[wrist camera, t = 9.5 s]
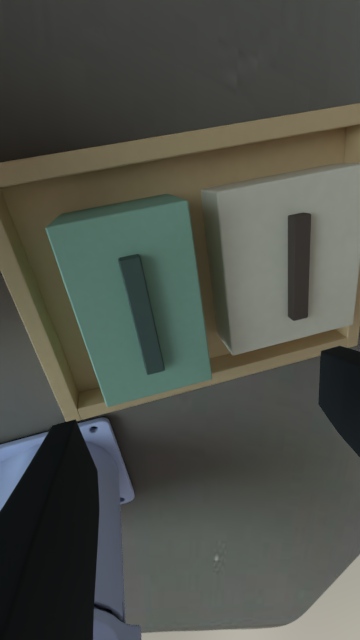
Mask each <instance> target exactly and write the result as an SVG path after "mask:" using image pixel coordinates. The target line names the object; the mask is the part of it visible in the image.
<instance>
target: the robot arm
mask: <svg viewBox="0 0 360 640" xmlns="http://www.w3.org/2000/svg"><path fill="white" fill-rule="evenodd" d="M319 405H320V407H321V408H322V410H323V411H324V413H325V414H326V416H327V417H328V419H329V420H330V422H331V423H332V424H333V426H334V427H335V428H336V430H337V431H338V433H339V434H340V435H341V436H342V437H343V439H344V440H345V441H346V442H347V443H348V444H349V445H350V447H351V448H352V449H353V450H354V451H355V452H356V453H357V454H358V456H359V457H360V352H358V351H355V350H352V349H349V348H346V347H342V346H337V347H333V348H330V349H326V350H323V351H321V361H320V383H319ZM93 426H95V427H97V428H91V427H93ZM134 497H135V495H134V490H133V487H132V484H131V481H130V478H129V475H128V472H127V469H126V467H125V464H124V461H123V458H122V455H121V452H120V449H119V446H118V444H117V441H116V438H115V435H114V432H113V429H112V426H111V424H110V421H109V419H107V418H104V417H101V418H97V419H93V420H89V421H85V422H82V423H78V424H77V421H76V419H75V420H71V421H68V422H64V423H60V424H57V425H53V426H52V427H51V429H50V431H49V432H45V433H41V434H37V435H34V436H30V437H26V438H23V439H19V440H15V441H12V442H8V443H4V444H1V445H0V640H141V629H140V626H139V625H130V624H126V621H125V599H124V577H123V555H122V533H121V511H120V504H124V503H127V502H130V501H132V500H133V499H134Z"/></svg>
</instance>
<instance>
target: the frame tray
mask: <svg viewBox="0 0 360 640" xmlns="http://www.w3.org/2000/svg"><path fill="white" fill-rule="evenodd" d="M343 163H360V103H357V104H351V105H345V106H339V107H333V108H327V109H321V110H315V111H309V112H302V113H296V114H290V115H284V116H278V117H272V118H266V119H260V120H254V121H248V122H242V123H236V124H230V125H224V126H218V127H212V128H206V129H200V130H194V131H188V132H182V133H176V134H169V135H163V136H157V137H151V138H145V139H139V140H133V141H127V142H121V143H115V144H109V145H103V146H97V147H91V148H85V149H79V150H73V151H67V152H61V153H55V154H49V155H43V156H36V157H30V158H24V159H18V160H12V161H6V162H0V271H1V273H2V275H3V278H4V280H5V282H6V285H7V287H8V289H9V292H10V294H11V296H12V298H13V301H14V303H15V305H16V308H17V310H18V312H19V315H20V317H21V319H22V321H23V324H24V326H25V328H26V331H27V333H28V335H29V338H30V340H31V342H32V345H33V347H34V349H35V351H36V354H37V356H38V358H39V361H40V363H41V365H42V368H43V370H44V372H45V374H46V377H47V379H48V381H49V384H50V386H51V388H52V391H53V393H54V395H55V398H56V400H57V402H58V404H59V407H60V409H61V411H62V414H63V416H64V418H65V421H66V422H68V421H71V420H75V419H76V421H80V420H81V419H82V420H84V419H87V418H91V417H95V416H99V415H102V414H106V413H110V412H113V411H117V410H121V409H124V408H128V407H132V406H136V405H139V404H143V403H147V402H150V401H154V400H158V399H162V398H165V397H169V396H173V395H176V394H180V393H184V392H187V391H191V390H195V389H199V388H202V387H206V386H210V385H213V384H217V383H221V382H225V381H228V380H232V379H236V378H239V377H243V376H247V375H250V374H254V373H258V372H262V371H265V370H269V369H273V368H276V367H280V366H284V365H287V364H291V363H295V362H299V361H302V360H306V359H310V358H313V357H317V356H321V351H323V350H326V349H330V348H333V347H337V346H342V347H346V348H349V347H353V346H357V344H358V336H359V328H360V266H359V275H358V285H357V294H356V304H355V313H354V322H353V324H352V325H349V326H345V327H341V328H337V329H334V330H330V331H326V332H322V333H318V334H314V335H311V336H307V337H303V338H299V339H295V340H291V341H287V342H284V343H280V344H276V345H272V346H268V347H264V348H261V349H257V350H253V351H249V352H245V353H241V354H238V355H232V354H231V353H230V351H229V350H228V348H227V347H226V346H225V344H224V343H223V341H222V340H221V338H220V337H219V336H218V334H217V326H216V318H215V309H214V301H213V293H212V284H211V276H210V267H209V259H208V250H207V242H206V233H205V225H204V216H203V208H202V199H201V189H204V188H209V187H214V186H219V185H225V184H230V183H235V182H241V181H246V180H251V179H256V178H262V177H267V176H272V175H277V174H283V173H288V172H293V171H299V170H304V169H309V168H314V167H320V166H325V165H330V164H343ZM162 194H170V195H173V196H176V197H179V198H182V199H185V200H187V201H188V203H189V211H190V218H191V225H192V232H193V240H194V247H195V254H196V262H197V269H198V276H199V284H200V291H201V298H202V306H203V313H204V320H205V328H206V335H207V342H208V349H209V357H210V364H211V371H212V379H211V380H208V381H204V382H200V383H196V384H193V385H189V386H185V387H181V388H178V389H174V390H170V391H166V392H163V393H159V394H155V395H152V396H148V397H144V398H140V399H137V400H133V401H129V402H125V403H122V404H118V405H114V406H111V407H107V406H106V403H105V401H104V398H103V395H102V392H101V389H100V386H99V383H98V380H97V377H96V375H95V372H94V369H93V366H92V363H91V360H90V357H89V354H88V351H87V348H86V346H85V343H84V340H83V337H82V334H81V331H80V328H79V325H78V322H77V319H76V317H75V314H74V311H73V308H72V305H71V302H70V299H69V296H68V293H67V290H66V288H65V285H64V282H63V279H62V276H61V273H60V270H59V267H58V264H57V262H56V259H55V256H54V253H53V250H52V247H51V244H50V241H49V238H48V235H47V233H46V227H47V226H48V225H49V224H50V223H51V222H52V221H54V220H55V219H56V218H57V217H58V216H59V215H60V214H62V213H67V212H72V211H77V210H83V209H88V208H93V207H99V206H104V205H109V204H114V203H120V202H125V201H130V200H136V199H141V198H146V197H151V196H157V195H162Z"/></svg>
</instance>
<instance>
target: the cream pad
mask: <svg viewBox="0 0 360 640" xmlns="http://www.w3.org/2000/svg"><path fill="white" fill-rule="evenodd" d="M201 199H202V208H203V216H204V225H205V233H206V242H207V250H208V259H209V267H210V276H211V284H212V293H213V301H214V309H215V318H216V326H217V334H218V336H219V337H220V338H221V340H222V341H223V343H224V344H225V346H226V347H227V348H228V350H229V351H230V353H231V354H232V355H238V354H241V353H245V352H249V351H253V350H257V349H261V348H264V347H268V346H272V345H276V344H280V343H284V342H287V341H291V340H295V339H299V338H303V337H307V336H311V335H314V334H318V333H322V332H326V331H330V330H334V329H337V328H341V327H345V326H349V325H352V324H353V322H354V313H355V304H356V294H357V285H358V275H359V266H360V163H343V164H330V165H325V166H320V167H314V168H309V169H304V170H299V171H293V172H288V173H283V174H277V175H272V176H267V177H262V178H256V179H251V180H246V181H241V182H235V183H230V184H225V185H219V186H214V187H209V188H204V189H201Z"/></svg>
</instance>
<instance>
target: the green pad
mask: <svg viewBox="0 0 360 640" xmlns="http://www.w3.org/2000/svg"><path fill="white" fill-rule="evenodd" d="M46 233H47V235H48V238H49V241H50V244H51V247H52V250H53V253H54V256H55V259H56V262H57V264H58V267H59V270H60V273H61V276H62V279H63V282H64V285H65V288H66V290H67V293H68V296H69V299H70V302H71V305H72V308H73V311H74V314H75V317H76V319H77V322H78V325H79V328H80V331H81V334H82V337H83V340H84V343H85V346H86V348H87V351H88V354H89V357H90V360H91V363H92V366H93V369H94V372H95V375H96V377H97V380H98V383H99V386H100V389H101V392H102V395H103V398H104V401H105V403H106V406H107V407H111V406H114V405H118V404H122V403H125V402H129V401H133V400H137V399H140V398H144V397H148V396H152V395H155V394H159V393H163V392H166V391H170V390H174V389H178V388H181V387H185V386H189V385H193V384H196V383H200V382H204V381H208V380H211V379H212V371H211V364H210V357H209V349H208V342H207V335H206V328H205V320H204V313H203V306H202V298H201V291H200V284H199V276H198V269H197V262H196V254H195V247H194V240H193V232H192V225H191V218H190V211H189V203H188V201H187V200H185V199H182V198H179V197H176V196H173V195H170V194H162V195H157V196H151V197H146V198H141V199H136V200H130V201H125V202H120V203H114V204H109V205H104V206H99V207H93V208H88V209H83V210H77V211H72V212H67V213H62V214H60V215H59V216H58V217H57V218H56V219H55V220H54V221H52V222H51V223H50V224H49V225H48V226H47V227H46Z"/></svg>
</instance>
